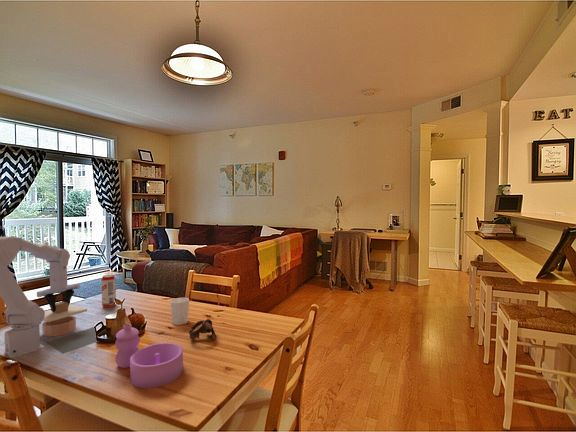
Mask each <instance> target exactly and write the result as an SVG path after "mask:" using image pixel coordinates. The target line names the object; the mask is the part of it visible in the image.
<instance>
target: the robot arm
mask: <svg viewBox="0 0 576 432" xmlns="http://www.w3.org/2000/svg"><path fill="white" fill-rule="evenodd" d="M19 252H26V253H31V254H32V256H33V257H34V258H37V259H39V260H40V259H41V260H44V261H46V262H47V264H49V265H48V267H49V288H47V289H43V290H40V291H37V292H36V297H37V298H42V297H43V298H45V300H46V301H47V303H48V306H49V307H50V310H51V311H52V312H55V310H56V308H55V303H56V300H57V296H56V294H58V293H62V295H63V297H62V298H63V301H65V302H68V306H69V305H70V302H71V299H72V298H73V295H74V294H75V290H78V289H80V287H81V286H80V284H79V283H72V284H68V265H69V261H70V258H71V254H70V252H69V250H67V249H66V248H59V247H58V246H56V245H49V243H48V242H41V243H38V244H36V243H34V242H31V241H30V240H29V241H28V240H27V239H23V238H22V237H17V236H14V235H12V236H0V297H1V299H2V301H3V302H4V304H5V305H6V306H7V308H6V309H5V310H4V312H3V313H4V315H5V317H6V323H7V324H8V325H10V328H11V329H10V330H9V329H8V330H5V332H4V353H5V354H6V355H7V356H8V357H9V358H10V359H14V358H16V357H20V356H23V355H26V354H29V353H33V352H35V351H38V350H42V349H45V346H44V345H43V344H41V337H40V336H41V335H40V325H42V322H44V321H43V319H44V316H45V312H44V311H45V310H44V308H42V307H40V306H39V305H38V304H37V303H36V302H34V301H31V300H29V299H28V297H27V296H26V294H25V292H24V291H23V289H22V288H21V286H20V285H19V283H18V282H17V280H16V278H15V276H14V275H13V274H12V272H11V270H10V269H9V268H8V265H10V264H12V262H13V261H14V259H15V258H16V257H17V255H18V254H19Z"/></svg>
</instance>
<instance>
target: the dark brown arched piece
mask: <svg viewBox="0 0 576 432" xmlns="http://www.w3.org/2000/svg"><path fill="white" fill-rule="evenodd" d="M199 326H200V327H199ZM209 333H211V338H212V341H213V342H215V340H216V338H217V335H216V331H215V330H214V326H213V322H212V319H209V318H207V319H205V320H204V319H201V320H198V321H197V322H196V323H194V324H193V325H192V326H191V327H190V329H189V330H188V334H189V339H190V340H193V339H194V340H195V339H200V334H209Z"/></svg>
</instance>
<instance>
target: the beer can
mask: <svg viewBox="0 0 576 432" xmlns="http://www.w3.org/2000/svg"><path fill="white" fill-rule="evenodd" d="M100 283H101V306H102V307H103V308H104V309H105V308H112V307H115V305H116V304H115V302H114V298H116V299H117V295H116V294H117V293H116V291H117V290H116V276H115V275H114V274H106V275H105V274H104V275H102V278H101V282H100Z"/></svg>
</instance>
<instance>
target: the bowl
mask: <svg viewBox="0 0 576 432" xmlns="http://www.w3.org/2000/svg"><path fill="white" fill-rule="evenodd" d="M41 327H42V336H44V337H57V336H58V337H59V336H62V335H66V334H69V333H71V332H73V331H74V330H76V328H77V317H75V316H74V315H72V316H68V317H65V318H61V319H58V320H54V321H51V322H45V321H43V323H41Z"/></svg>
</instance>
